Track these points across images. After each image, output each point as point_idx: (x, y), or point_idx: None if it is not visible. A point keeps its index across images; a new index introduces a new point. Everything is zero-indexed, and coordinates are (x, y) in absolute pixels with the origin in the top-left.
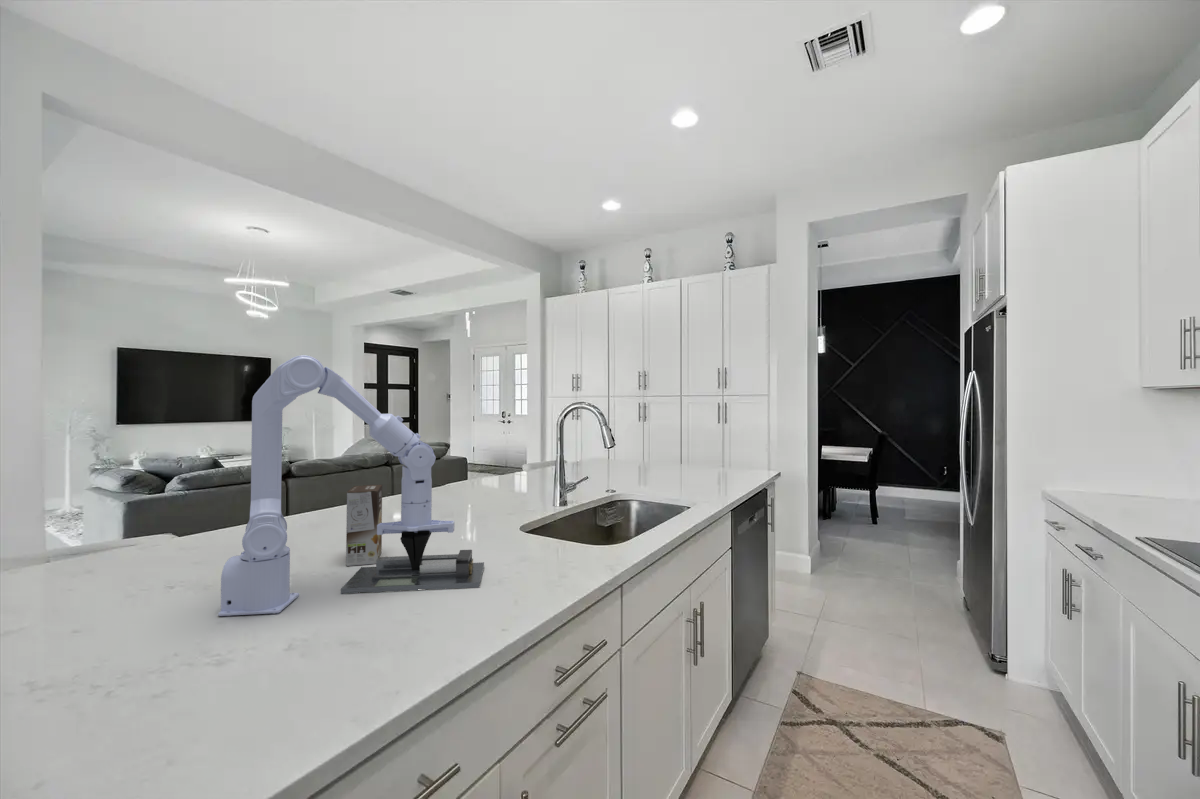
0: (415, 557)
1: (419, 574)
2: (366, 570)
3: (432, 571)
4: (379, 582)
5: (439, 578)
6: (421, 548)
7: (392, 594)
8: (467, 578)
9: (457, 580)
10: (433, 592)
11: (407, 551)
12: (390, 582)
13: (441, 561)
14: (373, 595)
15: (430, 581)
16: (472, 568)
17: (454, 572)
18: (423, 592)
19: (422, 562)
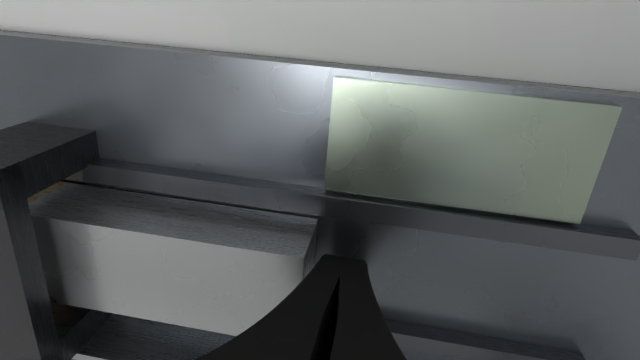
0: (326, 303)
1: None
2: None
3: (231, 221)
4: (588, 153)
5: (194, 160)
6: (246, 341)
7: (478, 23)
8: (30, 117)
9: (76, 94)
10: (214, 2)
11: (394, 350)
12: (506, 135)
13: (168, 294)
14: (613, 32)
15: (238, 117)
16: None
17: (106, 195)
18: (277, 17)
19: None
